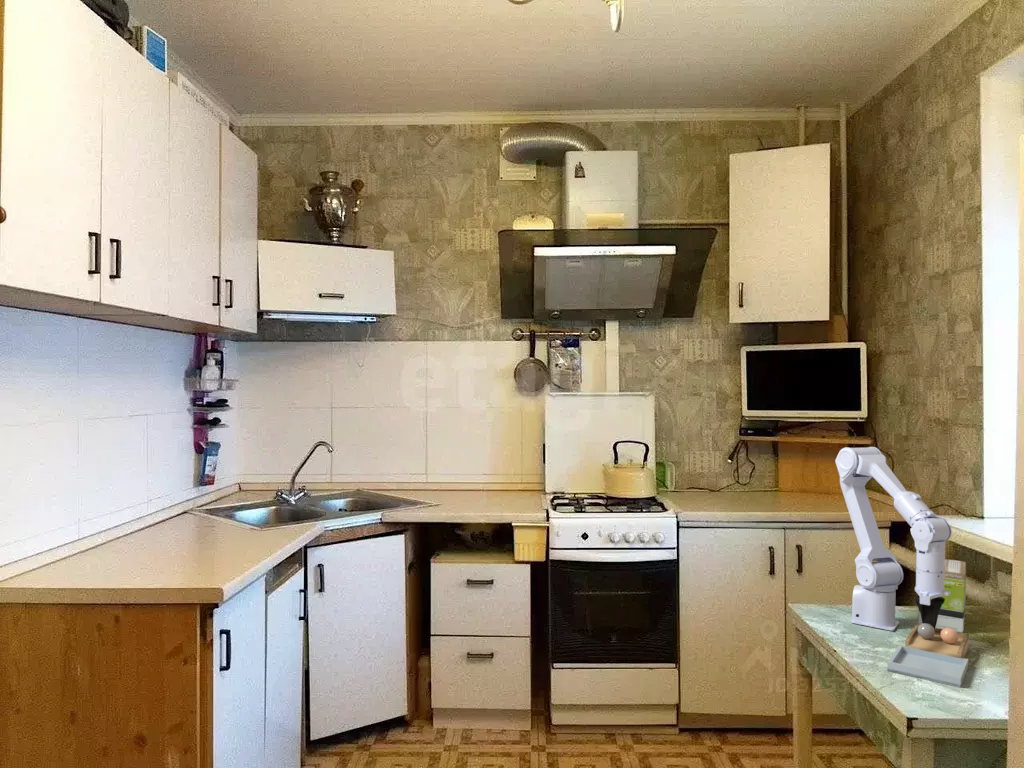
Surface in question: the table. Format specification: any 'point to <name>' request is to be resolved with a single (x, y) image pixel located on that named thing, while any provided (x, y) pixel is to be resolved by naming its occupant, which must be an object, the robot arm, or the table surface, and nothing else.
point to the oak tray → (938, 643)
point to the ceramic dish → (928, 666)
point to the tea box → (952, 597)
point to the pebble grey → (926, 631)
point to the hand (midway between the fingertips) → (929, 629)
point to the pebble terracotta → (949, 635)
